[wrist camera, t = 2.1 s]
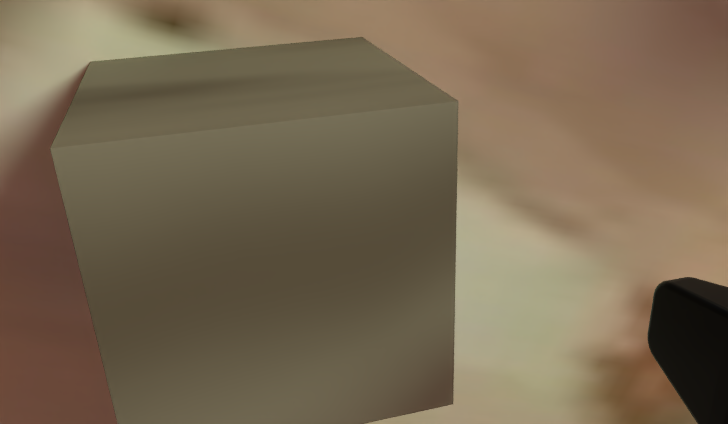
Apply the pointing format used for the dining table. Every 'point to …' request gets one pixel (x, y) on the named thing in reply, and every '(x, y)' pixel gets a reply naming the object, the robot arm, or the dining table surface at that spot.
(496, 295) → the dining table surface
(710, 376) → the robot arm
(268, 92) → the walnut cube
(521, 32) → the dining table surface
